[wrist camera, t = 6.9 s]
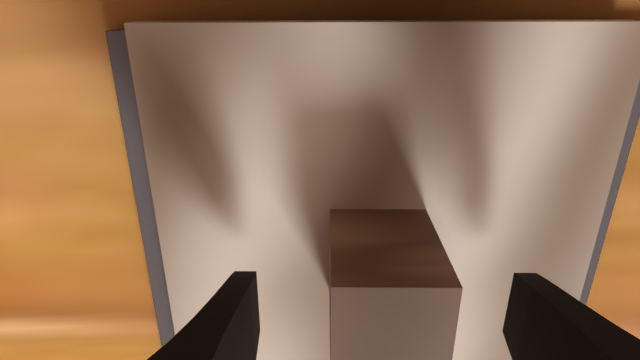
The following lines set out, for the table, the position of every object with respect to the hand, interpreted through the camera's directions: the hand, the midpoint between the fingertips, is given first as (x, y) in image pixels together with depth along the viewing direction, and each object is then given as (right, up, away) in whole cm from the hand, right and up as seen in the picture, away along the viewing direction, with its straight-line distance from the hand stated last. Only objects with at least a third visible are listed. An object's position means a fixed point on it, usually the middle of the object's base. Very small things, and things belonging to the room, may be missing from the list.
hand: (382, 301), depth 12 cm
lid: (0, +1, +3) cm, 3 cm away
